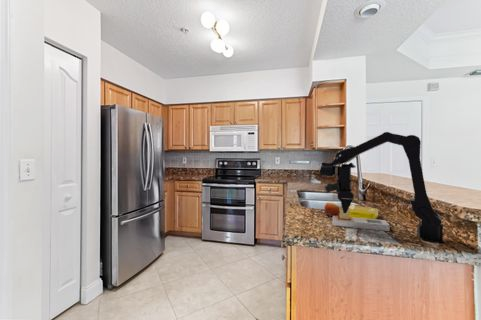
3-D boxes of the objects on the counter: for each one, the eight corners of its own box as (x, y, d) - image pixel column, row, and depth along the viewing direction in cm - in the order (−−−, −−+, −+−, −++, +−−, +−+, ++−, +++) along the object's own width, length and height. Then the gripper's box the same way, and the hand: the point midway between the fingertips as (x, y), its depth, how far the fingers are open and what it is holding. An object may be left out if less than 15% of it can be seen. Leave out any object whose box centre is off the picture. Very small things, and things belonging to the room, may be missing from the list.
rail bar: (385, 225, 99) (385, 219, 99) (389, 231, 92) (389, 224, 92) (332, 220, 108) (332, 215, 108) (332, 225, 100) (332, 219, 100)
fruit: (318, 212, 120) (324, 199, 121) (327, 218, 122) (333, 205, 123) (328, 215, 112) (335, 201, 113) (339, 222, 114) (345, 208, 116)
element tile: (374, 223, 105) (374, 213, 105) (341, 218, 115) (341, 208, 115) (378, 216, 117) (378, 207, 117) (347, 212, 126) (347, 204, 126)
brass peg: (348, 223, 103) (348, 206, 103) (349, 225, 100) (349, 208, 100) (339, 222, 105) (339, 205, 105) (339, 225, 101) (339, 207, 101)
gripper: (325, 175, 114) (325, 205, 114) (325, 178, 96) (325, 213, 96) (349, 176, 110) (349, 207, 110) (353, 179, 92) (353, 216, 92)
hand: (344, 210), depth 102 cm, fingers open, 9 cm apart
